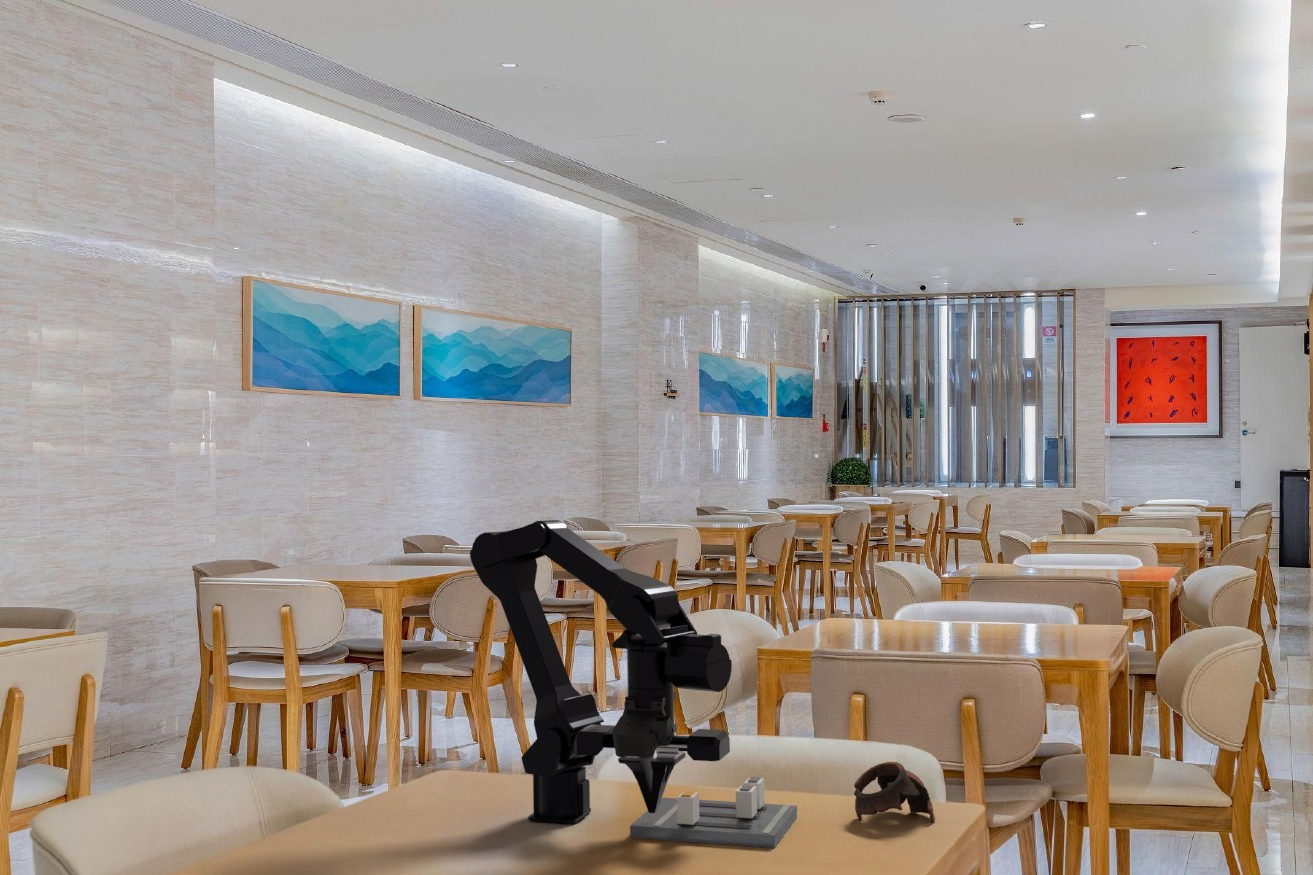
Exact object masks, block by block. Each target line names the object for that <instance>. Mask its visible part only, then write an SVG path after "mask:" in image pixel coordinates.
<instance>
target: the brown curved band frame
mask: <svg viewBox="0 0 1313 875" xmlns="http://www.w3.org/2000/svg"><path fill="white" fill-rule="evenodd" d="M875 780H877V785H878V786H879V788H880V790H879V791H876V792H872V793H865V792H864V793H863V790H865V788H866V787H868V785H870V784H871V782H874V781H875ZM853 787H854V789H855V791H854V792H853V795H854V796H855V799H854V810H855V814H856V818H857V819H858V821H862V820H863V815H865V816H868V815H870V816H876V815H877V814H879V813H885V812H886V811H889V810H892V809H895V810H898V811H903V806H902V805H903V804H904V803H905V801H907V804H908V807H909V812H910V813H911V814H920V813H922V814H927V815H929V818H930V819H929V820H930V823H932V824H935V822H936V816H935V814H934V808H933V802H932V801H931V798H930V794H929V792H928V791H929V790H928V789H927V788H926V786H925V784H924V782H923V781H922V780H921V779H920V777H919V776H917V774H915V773H914V772H912V771H910V770H907V769H905V767H904V766H903V764H901V763H900V762H897V761H885V762H882V763H879V764H876V765H874V766H871V767H869V769H866V771H864V772H863V773H862V774H861V775H860V776H859V777H858V778H857V779H856V781H855V782H854V785H853Z"/></svg>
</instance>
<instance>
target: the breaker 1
mask: <svg viewBox="0 0 1313 875" xmlns="http://www.w3.org/2000/svg"><path fill="white" fill-rule="evenodd" d="M676 798H677V820H678V824H691V825H694V824H695V823H696V822H697V821H698V820H699V800H700V792H696V791H693V790H692V791H690V790H685V791H682V792H681V793H680V794H679V795H678V796H677V797H676Z"/></svg>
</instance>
